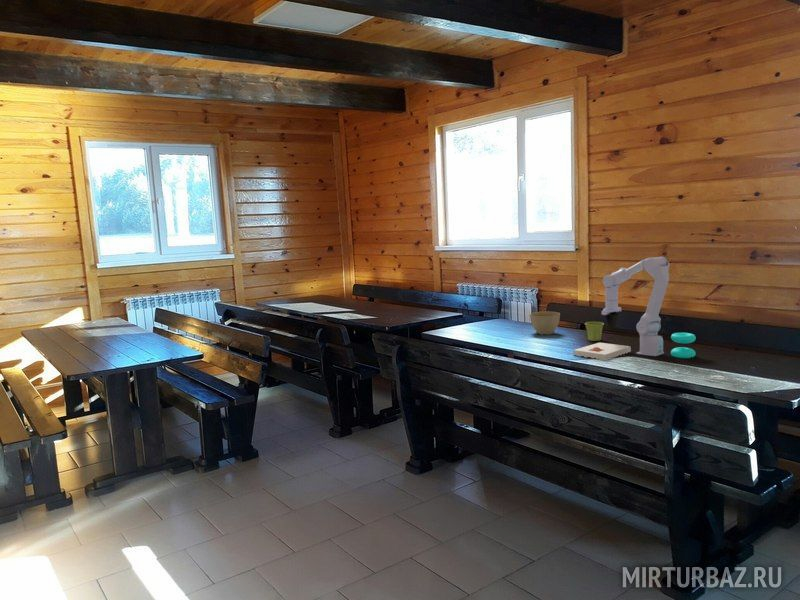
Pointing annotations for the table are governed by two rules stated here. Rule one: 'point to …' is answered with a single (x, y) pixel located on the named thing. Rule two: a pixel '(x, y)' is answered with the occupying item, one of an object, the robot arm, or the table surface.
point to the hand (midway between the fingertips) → (611, 328)
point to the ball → (596, 349)
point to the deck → (602, 351)
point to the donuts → (682, 351)
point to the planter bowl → (545, 322)
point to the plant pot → (594, 330)
